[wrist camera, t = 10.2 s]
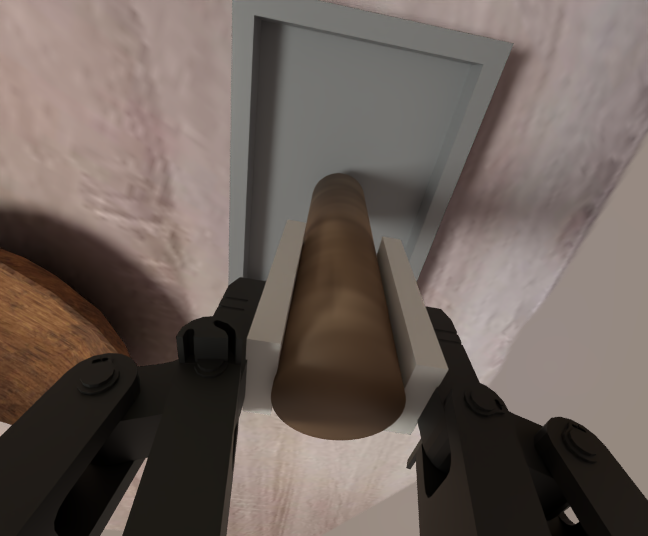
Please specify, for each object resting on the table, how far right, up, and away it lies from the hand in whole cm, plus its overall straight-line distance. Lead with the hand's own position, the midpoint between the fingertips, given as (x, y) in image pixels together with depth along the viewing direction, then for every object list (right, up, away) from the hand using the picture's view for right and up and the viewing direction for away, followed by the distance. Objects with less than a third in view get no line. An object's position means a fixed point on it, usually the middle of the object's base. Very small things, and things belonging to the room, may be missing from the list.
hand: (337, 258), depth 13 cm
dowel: (0, +4, +6) cm, 7 cm away
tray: (0, +5, +8) cm, 9 cm away
